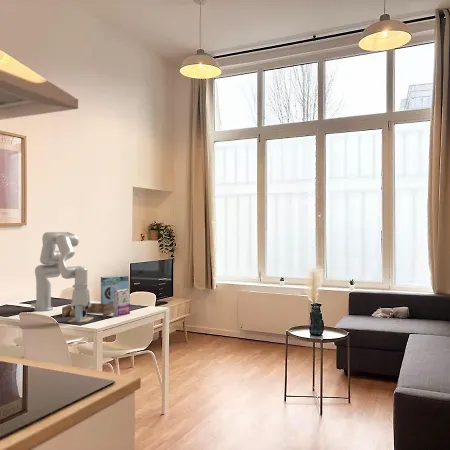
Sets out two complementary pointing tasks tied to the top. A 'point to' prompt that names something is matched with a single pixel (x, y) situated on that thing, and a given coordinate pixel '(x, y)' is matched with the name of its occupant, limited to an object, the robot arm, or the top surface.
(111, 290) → the blue cardboard box
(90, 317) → the mat
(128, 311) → the candy bar box
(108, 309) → the rack
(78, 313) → the pale blue block
